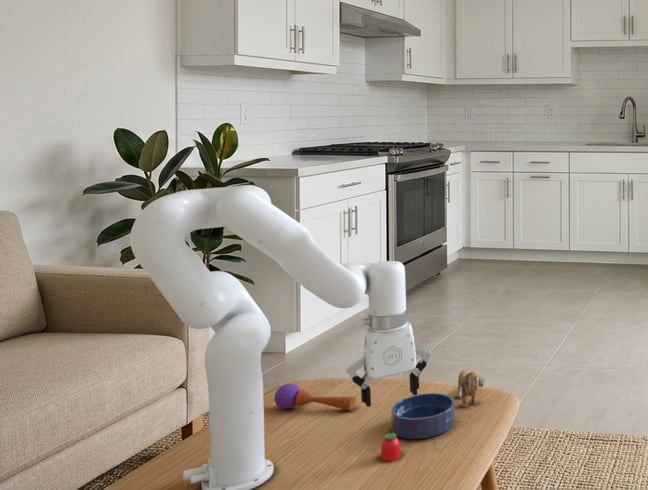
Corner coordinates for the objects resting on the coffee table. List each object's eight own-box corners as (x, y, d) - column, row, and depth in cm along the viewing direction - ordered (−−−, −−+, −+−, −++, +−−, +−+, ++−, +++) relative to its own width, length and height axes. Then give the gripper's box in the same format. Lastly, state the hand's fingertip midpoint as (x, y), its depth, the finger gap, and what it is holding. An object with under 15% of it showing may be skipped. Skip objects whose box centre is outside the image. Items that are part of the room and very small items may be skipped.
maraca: (346, 400, 162) (268, 391, 164) (347, 421, 164) (270, 412, 165) (358, 386, 168) (283, 377, 170) (358, 406, 170) (284, 398, 171)
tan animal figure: (487, 407, 167) (487, 372, 167) (467, 413, 164) (466, 377, 164) (467, 388, 179) (466, 355, 179) (447, 392, 176) (447, 359, 176)
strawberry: (383, 463, 140) (383, 441, 140) (379, 455, 144) (379, 434, 143) (402, 457, 142) (401, 436, 142) (397, 450, 146) (397, 429, 146)
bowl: (400, 447, 147) (400, 425, 147) (385, 422, 159) (385, 402, 159) (463, 430, 155) (462, 409, 155) (443, 408, 167) (443, 388, 167)
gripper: (348, 332, 135) (351, 416, 135) (433, 316, 144) (436, 394, 145) (341, 323, 141) (344, 403, 141) (423, 308, 150) (426, 383, 151)
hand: (391, 398), depth 143 cm, fingers open, 9 cm apart
